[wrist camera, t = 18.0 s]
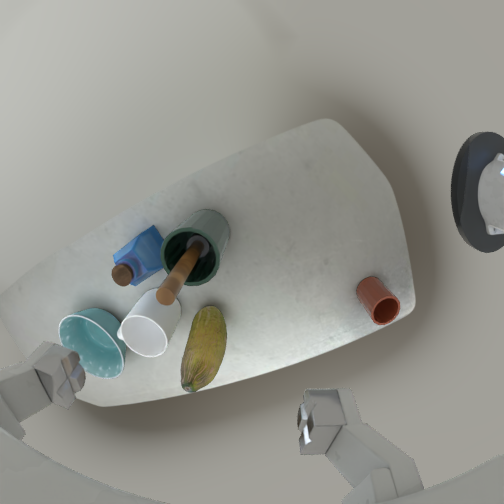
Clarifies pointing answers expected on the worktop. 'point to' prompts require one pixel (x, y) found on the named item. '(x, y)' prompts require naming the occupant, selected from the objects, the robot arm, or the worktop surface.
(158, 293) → the wooden dowel rod
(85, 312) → the bowl
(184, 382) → the vegetable
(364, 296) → the holder
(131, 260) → the perfume bottle
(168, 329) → the mug
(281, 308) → the worktop surface
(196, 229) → the cup
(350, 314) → the worktop surface
